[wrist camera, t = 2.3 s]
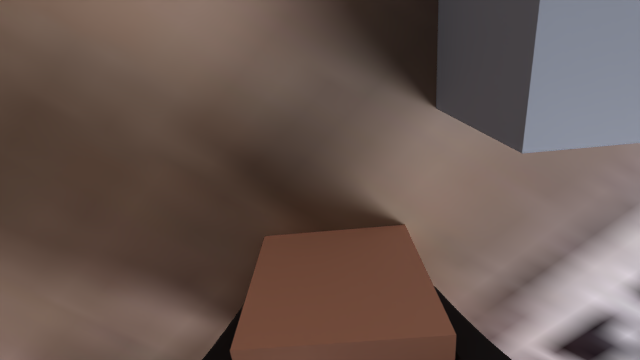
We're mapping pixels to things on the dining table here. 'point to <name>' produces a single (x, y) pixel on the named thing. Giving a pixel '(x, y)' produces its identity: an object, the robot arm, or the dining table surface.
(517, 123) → the slate block
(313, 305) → the terracotta block
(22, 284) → the dining table surface
